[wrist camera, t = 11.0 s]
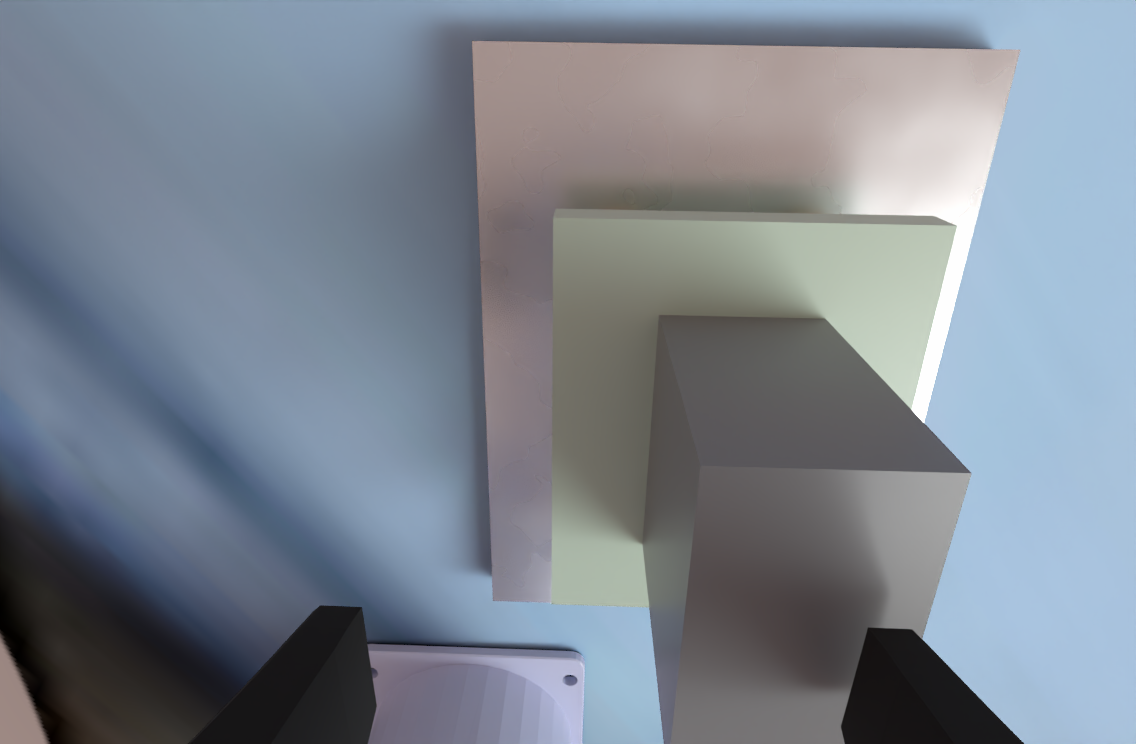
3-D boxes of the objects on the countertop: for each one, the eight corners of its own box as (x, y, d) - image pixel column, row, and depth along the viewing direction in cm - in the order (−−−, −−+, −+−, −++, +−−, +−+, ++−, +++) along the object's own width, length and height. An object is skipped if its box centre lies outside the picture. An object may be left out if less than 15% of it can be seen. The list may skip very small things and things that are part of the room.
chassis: (862, 591, 22) (900, 665, 19) (496, 579, 22) (484, 649, 20) (995, 51, 16) (1080, 47, 13) (478, 42, 16) (455, 37, 13)
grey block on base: (847, 587, 18) (984, 862, 12) (553, 577, 19) (534, 844, 12) (933, 215, 14) (1209, 332, 8) (555, 208, 15) (527, 317, 8)
